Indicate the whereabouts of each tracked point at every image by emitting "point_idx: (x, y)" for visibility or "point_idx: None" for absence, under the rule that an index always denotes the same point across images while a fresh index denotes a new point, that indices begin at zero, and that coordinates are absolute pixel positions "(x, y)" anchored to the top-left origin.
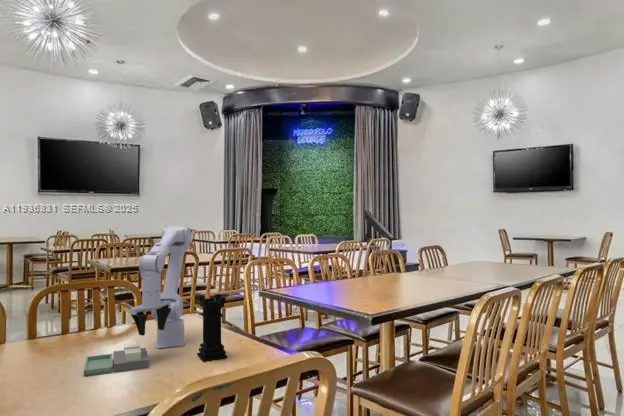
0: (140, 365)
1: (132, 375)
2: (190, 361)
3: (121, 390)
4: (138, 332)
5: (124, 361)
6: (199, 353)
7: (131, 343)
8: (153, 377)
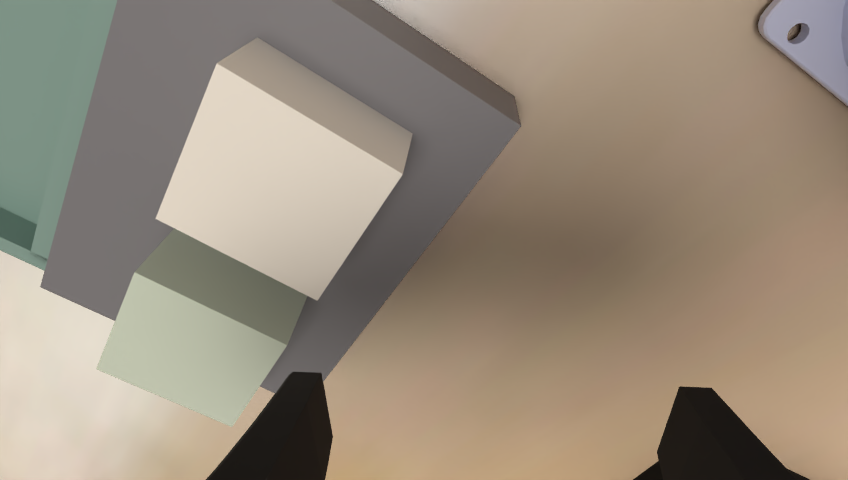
0: None
1: None
2: (566, 462)
3: (58, 461)
4: (272, 398)
5: None
6: None
7: (305, 132)
8: None
